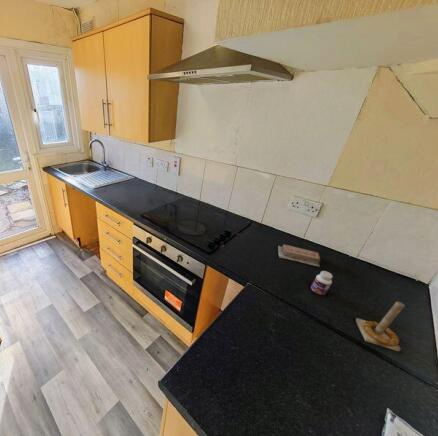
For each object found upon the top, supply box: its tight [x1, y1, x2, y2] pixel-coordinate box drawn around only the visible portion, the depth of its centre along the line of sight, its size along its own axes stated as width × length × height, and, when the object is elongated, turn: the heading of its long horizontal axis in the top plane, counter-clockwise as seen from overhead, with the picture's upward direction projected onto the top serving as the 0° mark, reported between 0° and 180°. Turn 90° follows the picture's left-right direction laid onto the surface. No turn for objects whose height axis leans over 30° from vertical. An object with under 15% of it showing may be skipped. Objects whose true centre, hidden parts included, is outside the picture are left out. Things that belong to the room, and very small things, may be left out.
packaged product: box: [277, 244, 321, 268], centre depth 117 cm, size 18×5×10 cm
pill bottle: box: [310, 270, 334, 296], centre depth 94 cm, size 5×5×10 cm
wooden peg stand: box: [354, 301, 406, 352], centre depth 75 cm, size 9×9×16 cm
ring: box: [364, 320, 400, 346], centre depth 77 cm, size 9×9×2 cm
